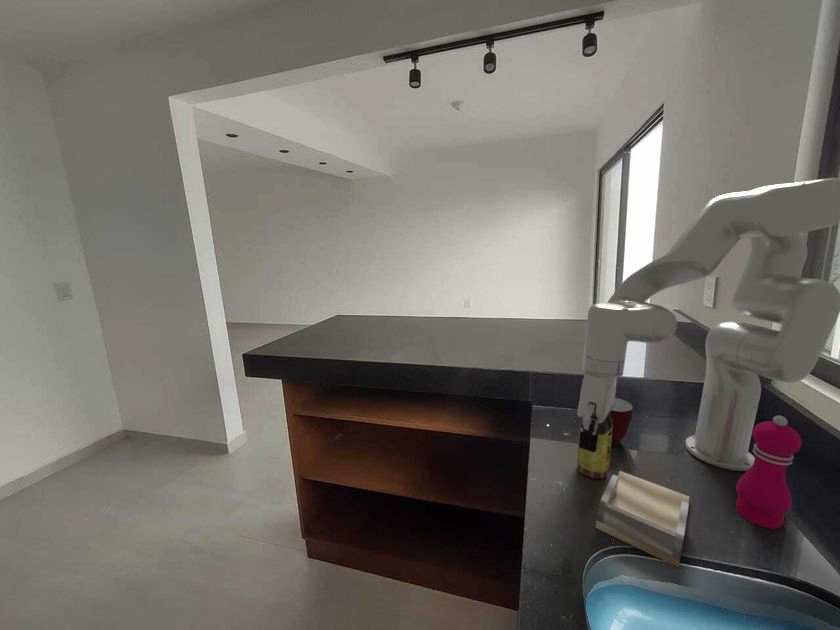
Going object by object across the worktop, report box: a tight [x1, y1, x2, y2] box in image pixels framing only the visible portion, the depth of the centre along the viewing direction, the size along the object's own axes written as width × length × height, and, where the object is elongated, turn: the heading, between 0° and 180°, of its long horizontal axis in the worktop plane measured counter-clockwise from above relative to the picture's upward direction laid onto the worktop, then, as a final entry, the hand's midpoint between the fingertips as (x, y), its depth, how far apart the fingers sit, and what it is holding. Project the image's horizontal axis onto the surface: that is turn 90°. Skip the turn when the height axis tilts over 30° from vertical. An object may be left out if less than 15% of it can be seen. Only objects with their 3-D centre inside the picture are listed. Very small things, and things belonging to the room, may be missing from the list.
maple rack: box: [595, 470, 690, 568], centre depth 65 cm, size 18×12×5 cm, turn 139°
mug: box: [610, 397, 634, 446], centre depth 89 cm, size 11×8×10 cm
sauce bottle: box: [576, 412, 613, 480], centre depth 75 cm, size 7×6×20 cm
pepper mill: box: [735, 415, 802, 530], centre depth 63 cm, size 7×7×20 cm
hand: (594, 439), depth 76 cm, fingers open, 9 cm apart
